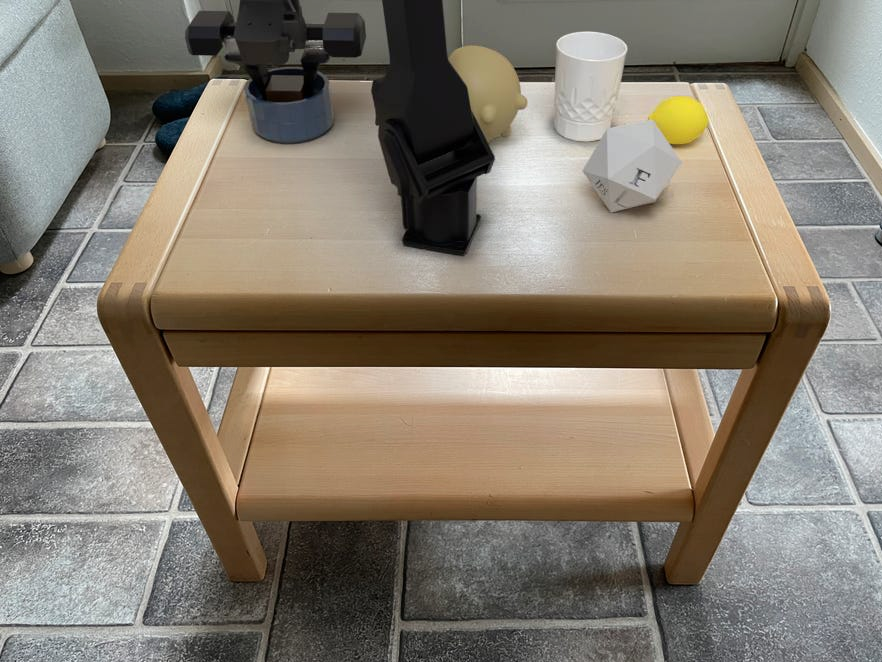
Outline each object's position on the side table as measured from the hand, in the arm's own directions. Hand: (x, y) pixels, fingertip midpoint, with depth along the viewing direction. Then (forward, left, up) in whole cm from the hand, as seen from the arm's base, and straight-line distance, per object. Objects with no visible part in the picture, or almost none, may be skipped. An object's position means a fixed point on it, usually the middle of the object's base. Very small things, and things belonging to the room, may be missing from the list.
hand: (290, 107), depth 88 cm
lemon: (-44, -9, -2) cm, 45 cm away
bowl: (0, 0, -2) cm, 2 cm away
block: (0, 0, -1) cm, 1 cm away
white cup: (-33, -9, -2) cm, 35 cm away
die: (-40, +5, -2) cm, 41 cm away
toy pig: (-21, -3, -2) cm, 22 cm away
